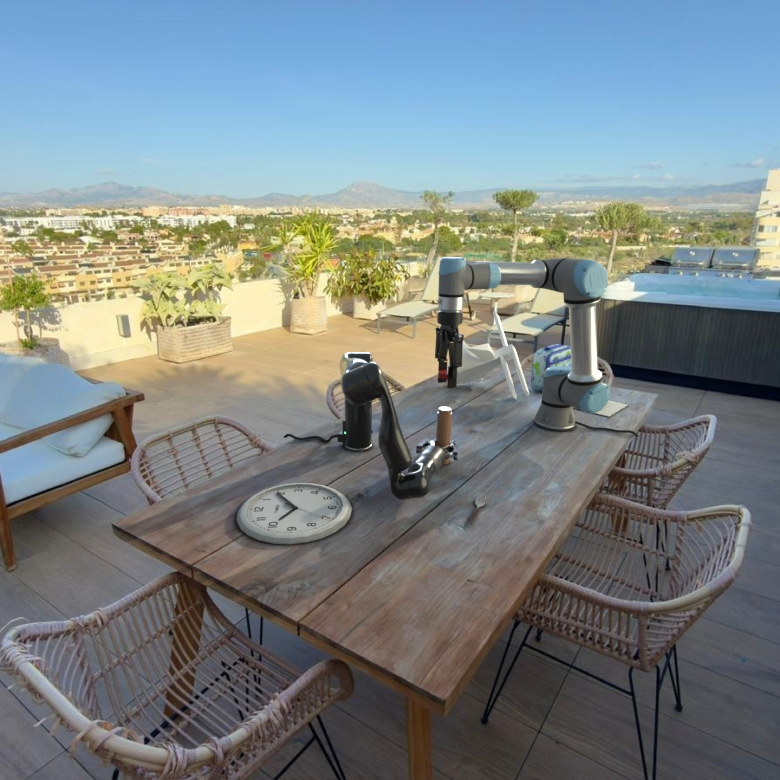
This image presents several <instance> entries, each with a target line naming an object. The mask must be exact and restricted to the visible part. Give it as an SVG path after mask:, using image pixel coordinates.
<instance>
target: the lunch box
mask: <svg viewBox="0 0 780 780" xmlns="http://www.w3.org/2000/svg"><path fill="white" fill-rule="evenodd" d="M531 364H532V365H531V376H530V377H531V378H530V387H531V389H532V390H536V391H539V392H540V391H541V392H542V391H543V380H544V374H545V370H546V369H547V368H549V367H556V366H567V367H572V363H571V345H565V344H560V343H555V344H552V345H547V346H545V347H542V348H539V349H537V350H536V351H535V353H534V355H533V358H532V363H531Z"/></svg>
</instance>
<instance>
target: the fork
mask: <svg viewBox="0 0 780 780" xmlns="http://www.w3.org/2000/svg"><path fill="white" fill-rule="evenodd" d="M479 492H480V491H478V492H477V495H476V499H475V502H474V504H475V506H476V508H475V509H474V511H473V513H472V515H471V516H472V517H471V521H470V523H469V524H470V526H472V525H473V523H474V521H475V520H476V518H477V517H478V512H479V508H481V507H483V506H485V505H486V499H487V494H485V492H483V493H479ZM484 495H485V496H484ZM481 496H482V497H481Z"/></svg>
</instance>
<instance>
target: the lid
mask: <svg viewBox="0 0 780 780" xmlns="http://www.w3.org/2000/svg"><path fill="white" fill-rule="evenodd" d="M437 371H438V370H437ZM438 377H439V378H441V379H448V370H440V371H438V372H437V378H438Z"/></svg>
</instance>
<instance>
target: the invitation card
mask: <svg viewBox="0 0 780 780" xmlns="http://www.w3.org/2000/svg"><path fill="white" fill-rule="evenodd" d="M628 406H629V404H627V403H623V402H618V401H614V400H610V399H609V400H608V402H607V404H606V405H605V406H604V408H603V409H601V410H600V411H598V412H596V413H595V414H596V415H600V416H604V417H608V418H609V417H611V416H613V415H614V414H616V413H617V412H619V411H621V410H623V409H624V408H626V407H628ZM573 409H575V410H578V409H577V408H575V407H573Z"/></svg>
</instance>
